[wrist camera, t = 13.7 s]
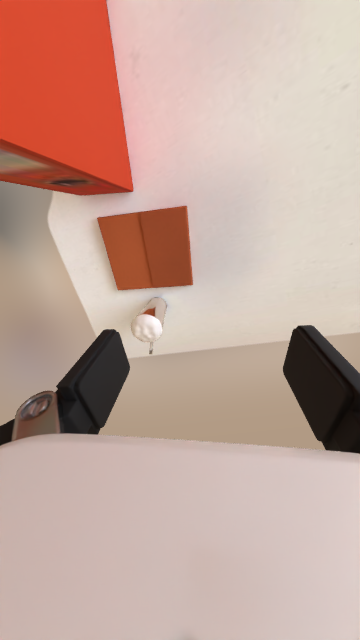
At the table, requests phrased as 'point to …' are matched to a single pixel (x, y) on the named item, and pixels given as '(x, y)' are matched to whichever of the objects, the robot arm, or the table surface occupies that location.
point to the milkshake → (150, 321)
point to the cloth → (148, 248)
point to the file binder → (60, 98)
